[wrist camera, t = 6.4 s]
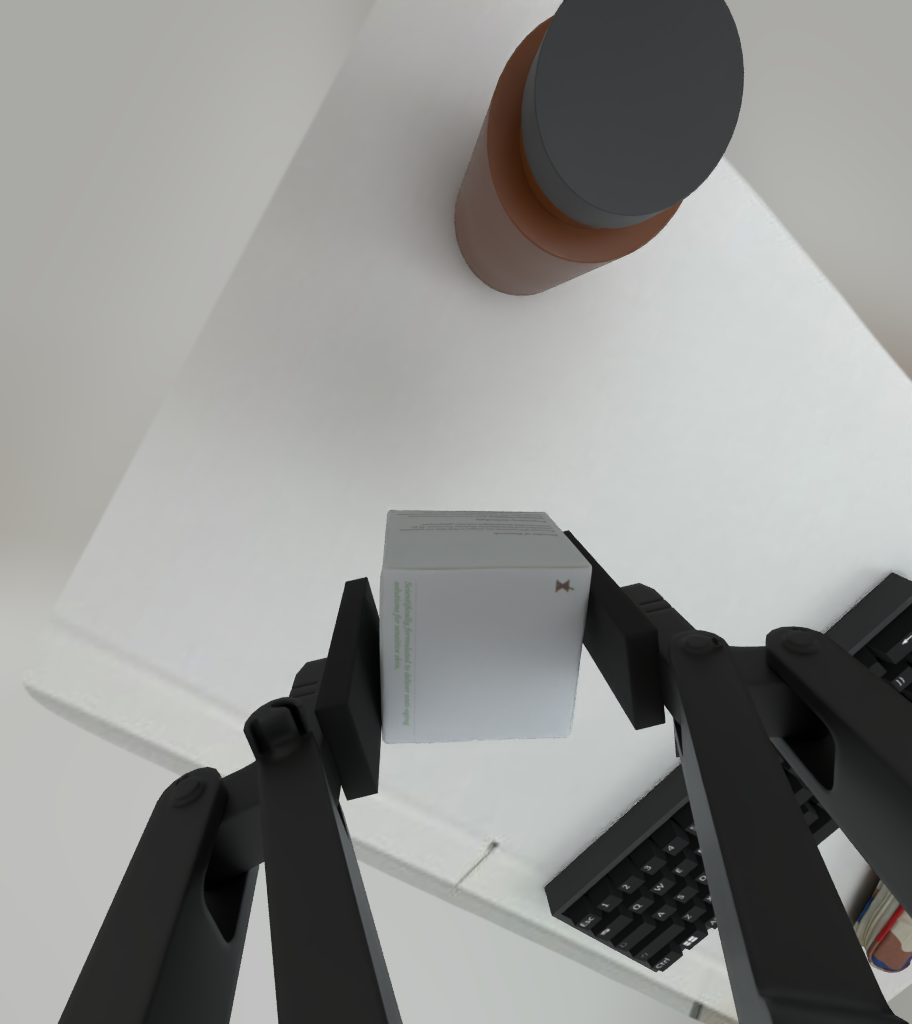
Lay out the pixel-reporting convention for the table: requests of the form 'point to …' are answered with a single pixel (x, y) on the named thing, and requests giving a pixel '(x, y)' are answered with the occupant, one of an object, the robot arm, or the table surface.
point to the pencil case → (885, 931)
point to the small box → (479, 626)
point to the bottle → (597, 137)
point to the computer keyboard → (671, 829)
